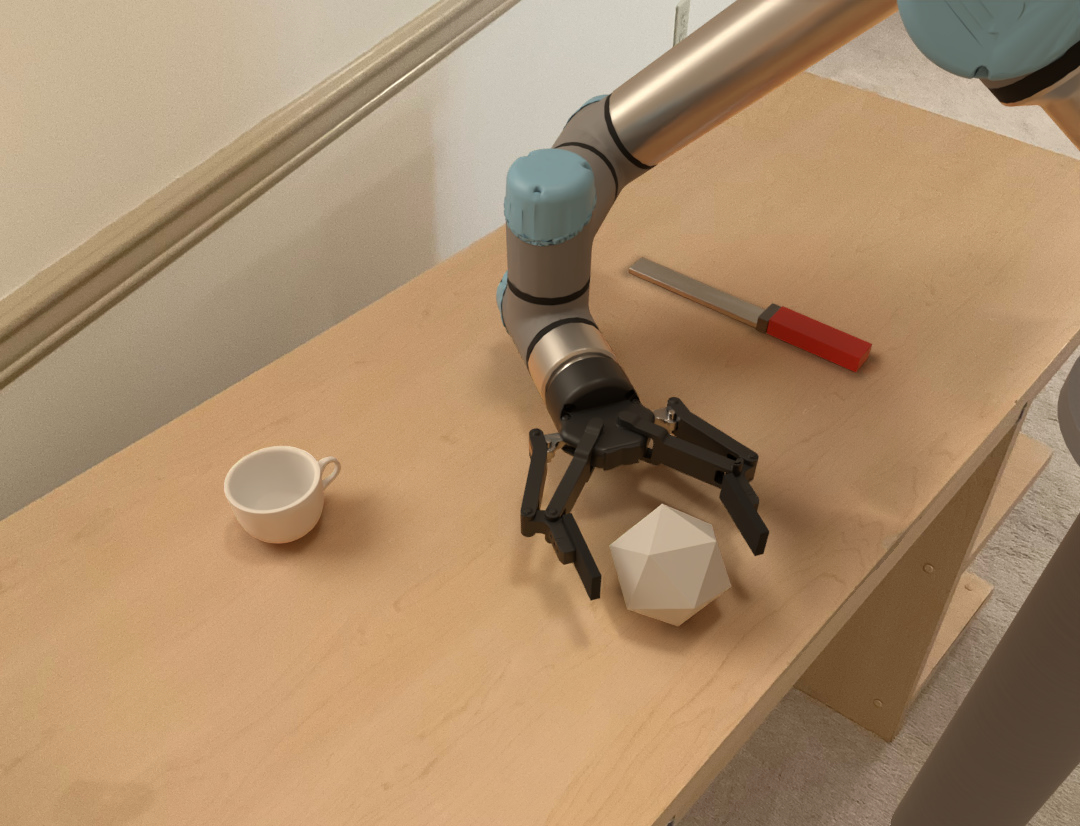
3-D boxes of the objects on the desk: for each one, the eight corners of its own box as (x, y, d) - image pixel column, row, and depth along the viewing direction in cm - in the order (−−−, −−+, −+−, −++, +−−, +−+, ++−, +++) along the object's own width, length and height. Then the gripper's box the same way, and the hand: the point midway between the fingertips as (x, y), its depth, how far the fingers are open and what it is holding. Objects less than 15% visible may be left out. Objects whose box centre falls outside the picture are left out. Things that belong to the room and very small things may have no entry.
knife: (868, 357, 101) (873, 343, 100) (855, 373, 100) (859, 358, 98) (642, 260, 112) (643, 246, 110) (627, 273, 110) (628, 259, 109)
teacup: (267, 571, 83) (253, 529, 79) (221, 517, 87) (206, 474, 83) (369, 514, 88) (361, 470, 83) (321, 464, 91) (311, 420, 87)
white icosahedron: (744, 607, 82) (730, 486, 80) (716, 647, 74) (701, 515, 72) (644, 608, 86) (628, 493, 83) (608, 647, 78) (590, 521, 76)
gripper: (707, 389, 95) (817, 556, 82) (449, 449, 90) (523, 637, 77) (718, 324, 89) (838, 493, 76) (443, 384, 84) (522, 576, 71)
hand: (680, 566), depth 76 cm, fingers open, 13 cm apart
